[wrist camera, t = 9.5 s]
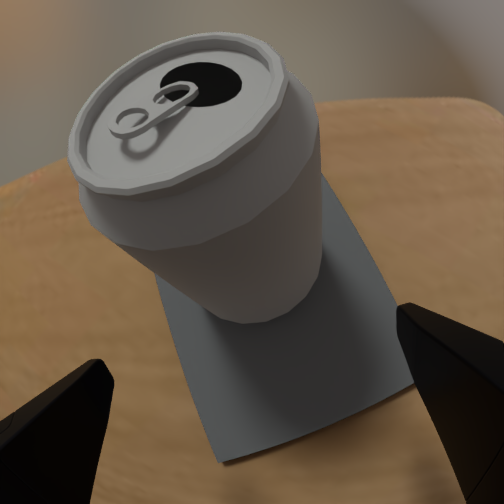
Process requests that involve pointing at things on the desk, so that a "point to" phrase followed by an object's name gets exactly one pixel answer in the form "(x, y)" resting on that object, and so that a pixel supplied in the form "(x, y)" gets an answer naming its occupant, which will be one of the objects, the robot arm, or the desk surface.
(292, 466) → the desk surface
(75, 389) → the robot arm
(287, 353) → the mat
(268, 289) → the can
